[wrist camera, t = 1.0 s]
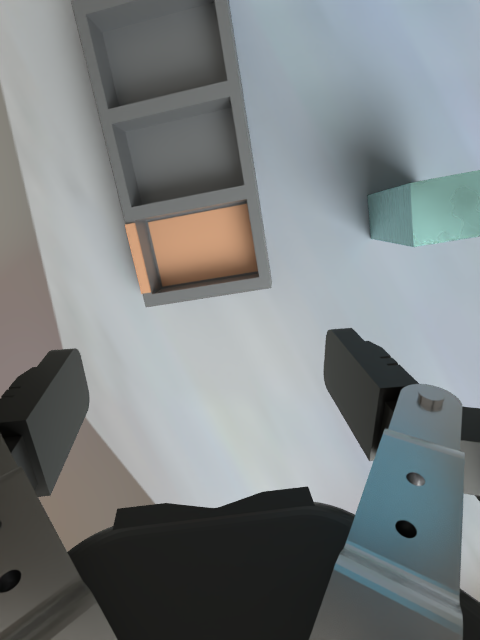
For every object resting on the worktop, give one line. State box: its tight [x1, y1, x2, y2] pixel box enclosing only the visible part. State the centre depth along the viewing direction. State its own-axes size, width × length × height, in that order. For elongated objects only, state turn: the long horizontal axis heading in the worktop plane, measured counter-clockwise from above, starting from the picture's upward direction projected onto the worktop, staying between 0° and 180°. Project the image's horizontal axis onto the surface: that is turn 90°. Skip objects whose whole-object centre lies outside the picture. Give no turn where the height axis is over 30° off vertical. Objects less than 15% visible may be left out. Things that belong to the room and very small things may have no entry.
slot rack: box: [71, 0, 272, 307], centre depth 29 cm, size 22×11×4 cm, turn 10°
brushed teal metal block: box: [367, 170, 480, 247], centre depth 25 cm, size 4×4×10 cm
